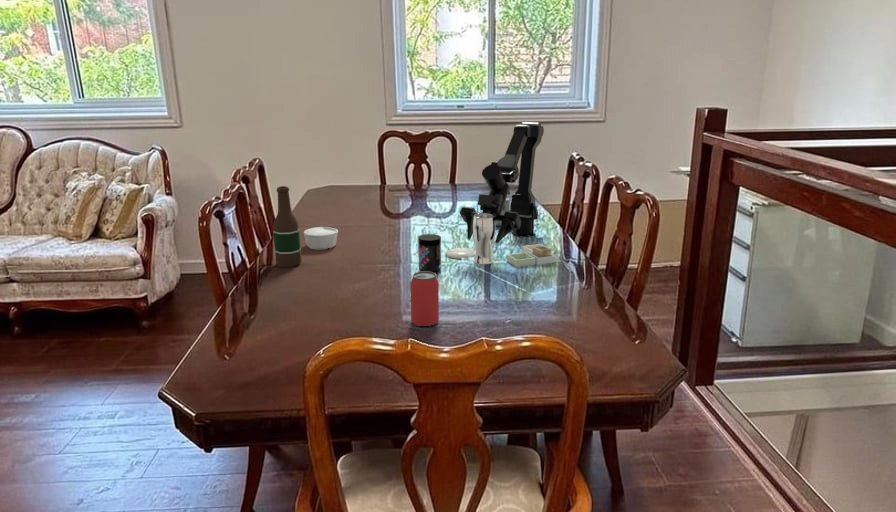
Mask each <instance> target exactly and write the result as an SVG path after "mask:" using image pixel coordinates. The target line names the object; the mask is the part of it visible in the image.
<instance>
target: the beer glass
mask: <svg viewBox="0 0 896 512" xmlns="http://www.w3.org/2000/svg"><path fill="white" fill-rule="evenodd" d="M496 226H497V225H496V224H495V215H494V214H490V213H482V212H480V213H478V214H475V215H474V217H473V234H472V239H473V244H474V245H473V246H474V250H475V256H473V257H474V259H473V263H475V264H478V265H490V264H493V263H494V258H493V249H494V242H495V240H496V239H495V238H496V230H497V227H496Z"/></svg>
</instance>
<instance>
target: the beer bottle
mask: <svg viewBox="0 0 896 512" xmlns="http://www.w3.org/2000/svg"><path fill="white" fill-rule="evenodd" d="M276 192H277V215H276V216H275V218H274V221H273V224H272V229H273V230H272V233H273V241H274V243H273V244H274V255H275V264H276V266H278V267H280V268H285V269H287V268H295V267H298V266H300V265H301V263H302V247H301V235H300V225H299V221H298V219H297V217H296V215H295V214H294V213H293V211H292V206H291V199H290V188H289V186H285V185H282V186H278V187H277V188H276Z"/></svg>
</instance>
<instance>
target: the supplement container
mask: <svg viewBox="0 0 896 512" xmlns="http://www.w3.org/2000/svg"><path fill="white" fill-rule="evenodd" d="M417 243H418V244H417V245H418V250H417V251H418V270H419V271H418V272H420V271H429V272H433V273H435V274H438V273H440V272H441V270H442V236H441V235H439V234H434V233H425V234H421V235H418V237H417Z"/></svg>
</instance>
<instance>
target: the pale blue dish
mask: <svg viewBox="0 0 896 512" xmlns="http://www.w3.org/2000/svg"><path fill="white" fill-rule="evenodd" d="M528 254H529V255H531V256H532V257H534V258H535V265H540V266H541V265H545V264H553V263H556V262H557V256H556V255H555V254H553V253H551V256H547V257H540V258H538V257H537V256H535V255H533V252H528Z"/></svg>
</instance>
